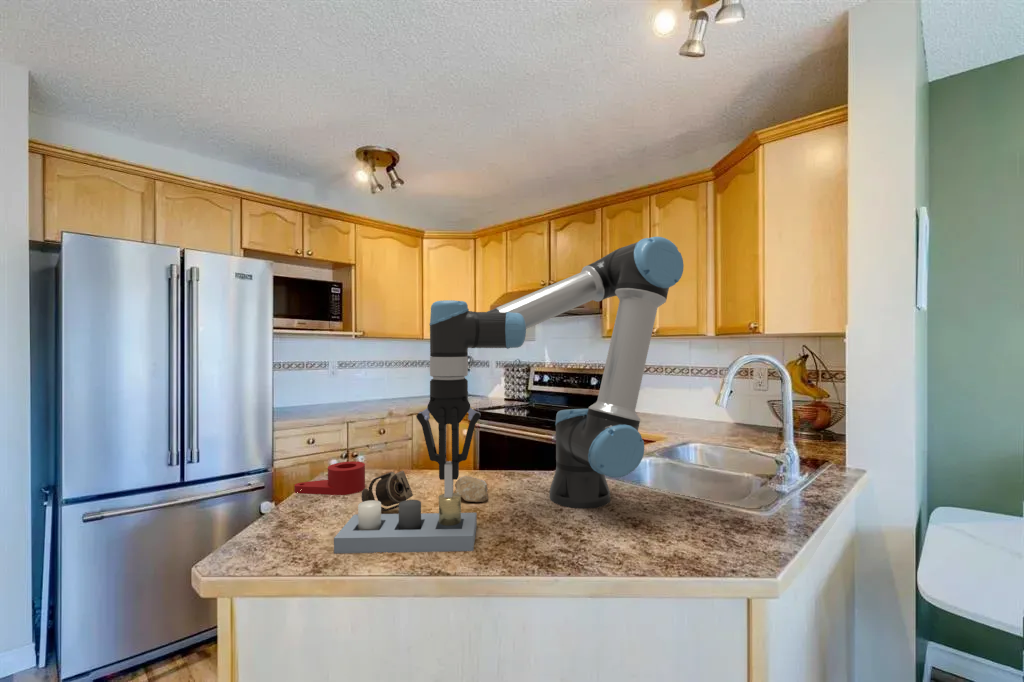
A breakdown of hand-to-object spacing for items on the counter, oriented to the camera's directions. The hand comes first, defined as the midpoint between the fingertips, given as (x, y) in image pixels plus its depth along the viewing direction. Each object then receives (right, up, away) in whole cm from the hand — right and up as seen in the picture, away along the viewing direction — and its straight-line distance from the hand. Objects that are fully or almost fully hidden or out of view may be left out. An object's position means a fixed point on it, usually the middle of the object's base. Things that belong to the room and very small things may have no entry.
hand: (449, 495), depth 94 cm
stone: (-2, -9, +27) cm, 29 cm away
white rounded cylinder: (-16, -7, 0) cm, 17 cm away
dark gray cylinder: (-8, -7, 0) cm, 10 cm away
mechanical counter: (-17, -9, +14) cm, 24 cm away
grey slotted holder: (-8, -9, 0) cm, 12 cm away
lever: (-36, -9, +31) cm, 49 cm away
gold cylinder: (0, -5, 0) cm, 5 cm away
